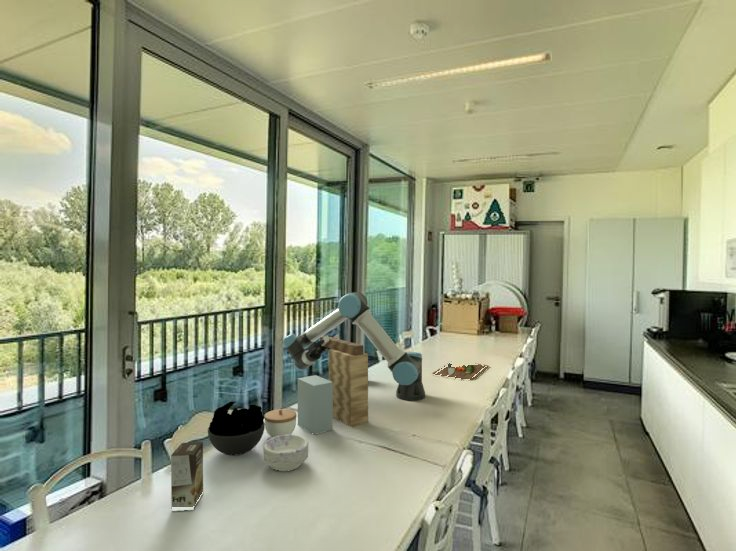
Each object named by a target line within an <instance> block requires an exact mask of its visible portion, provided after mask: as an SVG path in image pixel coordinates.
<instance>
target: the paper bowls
mask: <svg viewBox="0 0 736 551" xmlns="http://www.w3.org/2000/svg"><path fill="white" fill-rule="evenodd" d="M262 447H263V454H262V455H263V458H262V459H263V462H264V463H266V465H268V466H270V467H271V469H273V470H274V469H275V470H274V471H277V470H279V471H278V472H289V471H288V470H291V471H293V469H294V470H296V469H297V468H299V467H300V466H301V465H302V463H303V462H305V461H307V459H308V458H309V441H308V439H307V438H306V437H304V436H303V435H298V434H288V435H280V436H276V437H273V438H272V437H270V438H269V439H267V440H266V441H265V442H264V443H263V446H262Z"/></svg>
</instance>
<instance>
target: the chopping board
mask: <svg viewBox="0 0 736 551" xmlns="http://www.w3.org/2000/svg"><path fill="white" fill-rule="evenodd" d="M448 363H449V362H448ZM448 363H447V364H448ZM477 364H478V365H468V366H467V367H466V366H465V365H463V366H462V367H460V366H459V367H456V368H455V367H451V365H452V364H450V363H449V364H448V367H446V368H444V369H443V370H441V371H440V372H438V373H437V374H435V373H436V372H437V371H439V370H440V368H441V367H440V368H438V369H436V370H437V371H436V370H435V371H433V372H432V373H431V374H435V375H440V374H442V375H441V376H447V375H449V376H448V377H455V376H456V377H455V379H456V378H461V380H460V381H462V380H463V379H470V380H469V381H474V380H473V379H475V378H476V379H478V378H479V377H480V376H481V375H482V374H483V373H485V372H486V371H487V370H488V369H489V368H490V366H489V365H487V364H483V365H484V366H482V365H481V363H477ZM443 366H444V367H445V365H443ZM485 366H487V367H485ZM484 367H485V368H484ZM488 367H489V368H488ZM482 368H484V369H483V370H482V371H481V372H479V371H480V370H481V369H482ZM487 368H488V369H487ZM441 369H442V368H441ZM486 369H487V370H486ZM485 370H486V371H485ZM484 371H485V372H484ZM478 372H479V373H478ZM482 372H483V373H482ZM477 373H478V374H477ZM481 373H482V374H481ZM475 374H477V375H476V376H475V377H473V376H474V375H475ZM480 374H481V375H480ZM479 375H480V376H479ZM478 376H479V377H478ZM448 377H447V378H448ZM472 377H473V378H472ZM477 377H478V378H477ZM447 378H446V379H447ZM476 379H475V380H476ZM463 381H464V380H463Z"/></svg>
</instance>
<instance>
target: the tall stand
mask: <svg viewBox="0 0 736 551" xmlns="http://www.w3.org/2000/svg"><path fill="white" fill-rule="evenodd" d="M328 380H329V381H331V382H333V419H336V420H338V421H340V420H341V421H342V423H343V422H344V424H345V423H346V425H347V424H348V425H347V426H349V425H350V426H349V427H351V426H352V427H355V426H358V425H362V423H363V424H366V423H369V353H366V352H363V355H358V356H355V355H351V354H348V353H345V352H341V351H338V350H335V349H331V350H329V351H328ZM341 421H340V422H341Z"/></svg>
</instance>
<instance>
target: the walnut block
mask: <svg viewBox="0 0 736 551" xmlns="http://www.w3.org/2000/svg"><path fill="white" fill-rule="evenodd" d="M325 336H326V335H323V336H322V337H320V338H319V341H321V340H322V339H323V338H324V337H325ZM327 336H328V338H329V342H327V343H326V344H325V345H324V347H328V348H331V349H335V350H338V351H341V352H345V353H348V354H351V355H355V356H358V355H363V353H364V344H359V343H356V342H351V341H348V340H345V339H340V338H339V339H336V338H333V337H334V336H333V337H332V336H329V335H327ZM321 346H322V345H321Z"/></svg>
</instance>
